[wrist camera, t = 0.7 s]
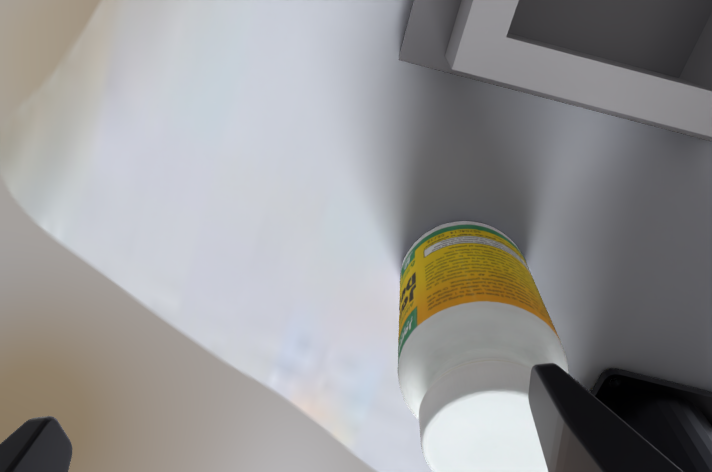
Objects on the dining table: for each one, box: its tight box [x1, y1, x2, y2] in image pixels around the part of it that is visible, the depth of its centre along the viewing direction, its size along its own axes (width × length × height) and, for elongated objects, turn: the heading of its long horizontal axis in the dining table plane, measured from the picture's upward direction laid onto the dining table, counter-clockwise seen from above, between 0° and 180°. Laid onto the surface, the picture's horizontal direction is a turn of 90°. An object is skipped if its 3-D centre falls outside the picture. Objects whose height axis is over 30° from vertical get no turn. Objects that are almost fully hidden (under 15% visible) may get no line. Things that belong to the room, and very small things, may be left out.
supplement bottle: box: [398, 221, 569, 472], centre depth 19 cm, size 5×5×10 cm
